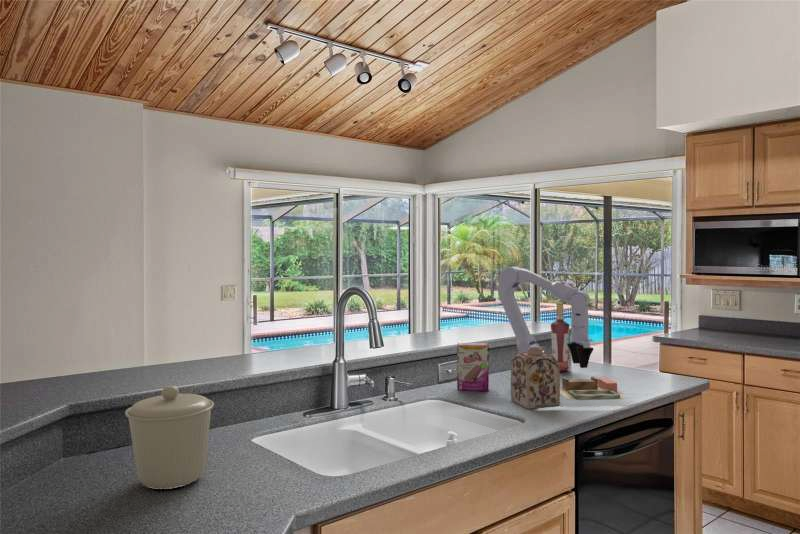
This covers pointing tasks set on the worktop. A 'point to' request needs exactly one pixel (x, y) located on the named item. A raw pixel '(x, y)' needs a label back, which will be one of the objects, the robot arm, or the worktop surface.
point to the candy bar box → (472, 366)
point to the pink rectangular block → (607, 384)
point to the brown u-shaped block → (580, 384)
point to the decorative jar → (535, 379)
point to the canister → (170, 437)
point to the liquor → (560, 339)
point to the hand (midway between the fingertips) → (579, 365)
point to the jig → (591, 394)
